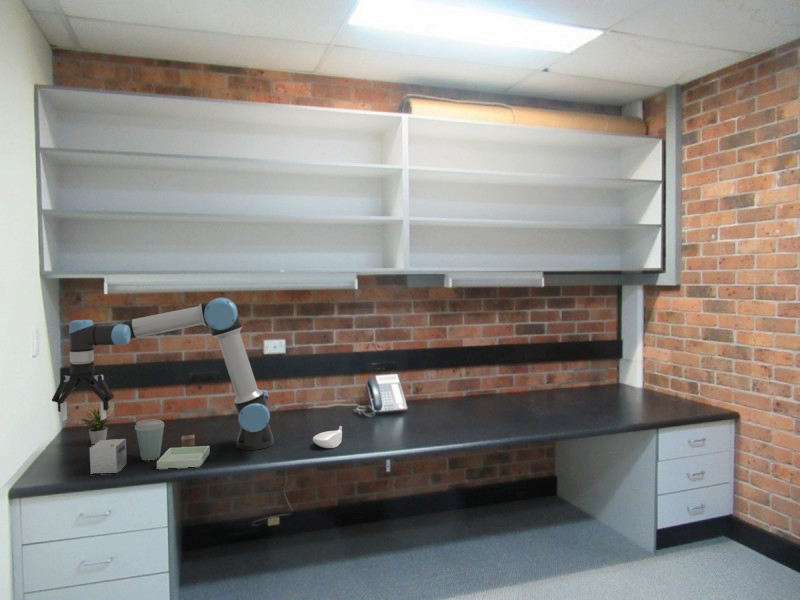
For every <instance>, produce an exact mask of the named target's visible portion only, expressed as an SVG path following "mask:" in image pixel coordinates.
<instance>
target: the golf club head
mask: <svg viewBox="0 0 800 600" xmlns="http://www.w3.org/2000/svg"><path fill="white" fill-rule="evenodd" d="M342 429H343V426H341V425H339V427H338V429H336V430H328V431H323V432H320V433H318V434H315V435H314V436H313V437H312V441H313V443H314V444H316V445H317V446H318V447H320V448H323V449H324V448H325V449H334V448H337V447H338V446H340V444H341V443H342V438H343V430H342Z"/></svg>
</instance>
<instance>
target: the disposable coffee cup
mask: <svg viewBox="0 0 800 600" xmlns="http://www.w3.org/2000/svg"><path fill="white" fill-rule="evenodd" d="M164 428H165V423H164V421H163V420H161V419H143V420H139V421H136V424H135V425H134V430H135V432H136V438H137V443H138V448H139V452H140V454H139V455H140V458H141V460H142V461H143V460H145V461H144V462H150V461H149V460H153V461H156V460H158V459H160V457H161V452H162V451H161V450H162V445H163V444H162V443H163V436H164V430H165V429H164ZM157 458H158V459H157ZM155 459H156V460H155ZM146 460H148V461H146Z"/></svg>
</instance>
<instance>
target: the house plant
mask: <svg viewBox="0 0 800 600" xmlns="http://www.w3.org/2000/svg"><path fill="white" fill-rule="evenodd" d="M108 407H109V408H108V410H106V418H105V419H104V420H101V411H100V407H98V406H97V409H96V408H95V407H93V406H92V408H93V410H91V409H89V411H90V412H91V413H92V414H91V413H90V412H88V411H87V412H86V411H84V412H83V415H86V416H87V417H88V418H90V419H91V420H89V419H86V418H77V420H79V421H81V422H83V423H81V426H83V425H88V426H89V427H91V428H89V429H88V434H89V438H90V443H91V445H92V444H96V443H97V442H99V441H100V440H107V435H108V434H107V433H108V427H107V426H105V424H107V423H108V422H110V420H111V418H109V417H108V413H110V411H111V407H113V405H109V406H108ZM78 412H79V413H80V411H78ZM93 415H94V416H93ZM108 419H109V420H108Z"/></svg>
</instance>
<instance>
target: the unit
mask: <svg viewBox="0 0 800 600" xmlns="http://www.w3.org/2000/svg"><path fill="white" fill-rule="evenodd" d="M89 463H90V464H89V465H90V469H89V470H90V475H91V474H93V473H117V472H118V473H119V472H121V471H122V470H123V469H124V468H125V467H126V466H127V465H128V463H127V439H126V438H120V439H119V438H117V439H116V438H115V439H106V440H100V441H99V442H97V443H96V444H95V445H91V447H89ZM126 464H127V465H126ZM125 465H126V466H125ZM124 466H125V467H124ZM123 467H124V468H123ZM122 468H123V469H122ZM118 473H117V474H118Z"/></svg>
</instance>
